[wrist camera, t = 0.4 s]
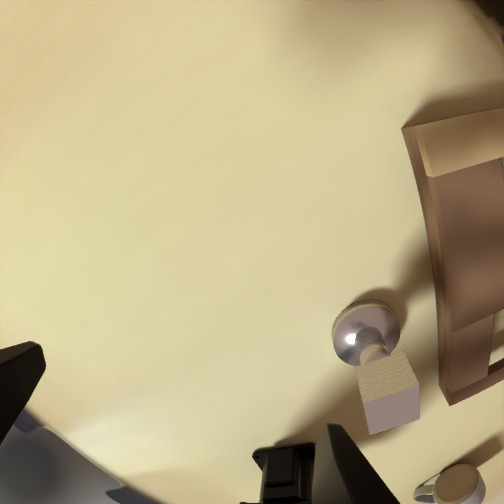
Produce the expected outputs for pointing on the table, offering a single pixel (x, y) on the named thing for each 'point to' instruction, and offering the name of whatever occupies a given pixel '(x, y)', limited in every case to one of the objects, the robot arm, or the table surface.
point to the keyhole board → (463, 240)
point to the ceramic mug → (454, 487)
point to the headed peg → (377, 364)
